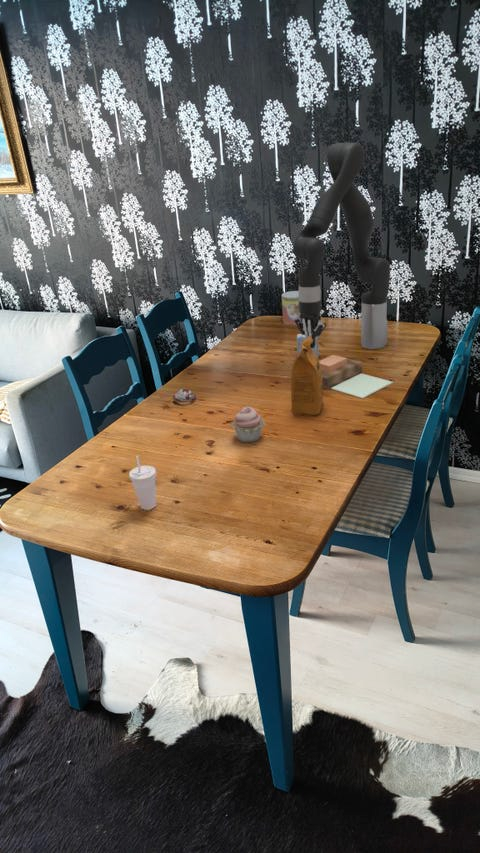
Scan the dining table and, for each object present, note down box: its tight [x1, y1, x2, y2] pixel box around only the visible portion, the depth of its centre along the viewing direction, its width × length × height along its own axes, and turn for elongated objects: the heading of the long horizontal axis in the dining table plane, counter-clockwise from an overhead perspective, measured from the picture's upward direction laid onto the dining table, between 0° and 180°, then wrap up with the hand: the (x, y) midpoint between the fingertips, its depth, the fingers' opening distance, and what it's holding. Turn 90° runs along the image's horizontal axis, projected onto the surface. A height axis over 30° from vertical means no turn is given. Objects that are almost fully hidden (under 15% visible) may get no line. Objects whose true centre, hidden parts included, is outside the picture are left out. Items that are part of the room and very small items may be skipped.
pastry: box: [172, 387, 197, 406], centre depth 206 cm, size 8×8×5 cm
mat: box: [330, 372, 394, 400], centre depth 205 cm, size 16×13×1 cm
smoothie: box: [128, 455, 157, 511], centre depth 148 cm, size 6×6×14 cm
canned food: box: [281, 290, 300, 325], centre depth 274 cm, size 11×11×12 cm
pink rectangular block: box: [318, 354, 348, 372], centre depth 212 cm, size 9×6×2 cm, turn 132°
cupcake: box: [231, 406, 265, 444], centre depth 176 cm, size 9×9×10 cm
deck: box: [322, 358, 363, 391], centre depth 213 cm, size 18×12×4 cm, turn 132°
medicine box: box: [296, 332, 320, 359], centre depth 232 cm, size 8×4×9 cm, turn 84°
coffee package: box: [290, 337, 324, 416], centre depth 188 cm, size 10×12×22 cm
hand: (310, 347), depth 216 cm, fingers closed
